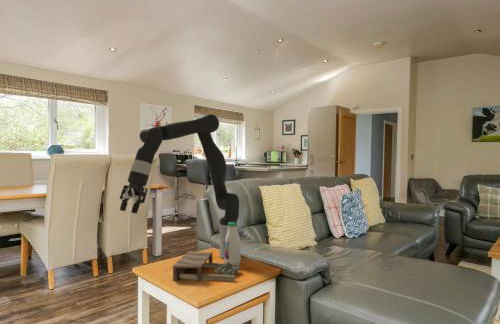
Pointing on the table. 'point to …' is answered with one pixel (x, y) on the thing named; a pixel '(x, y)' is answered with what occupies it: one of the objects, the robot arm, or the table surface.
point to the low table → (199, 267)
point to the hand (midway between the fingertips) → (127, 211)
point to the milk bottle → (232, 244)
